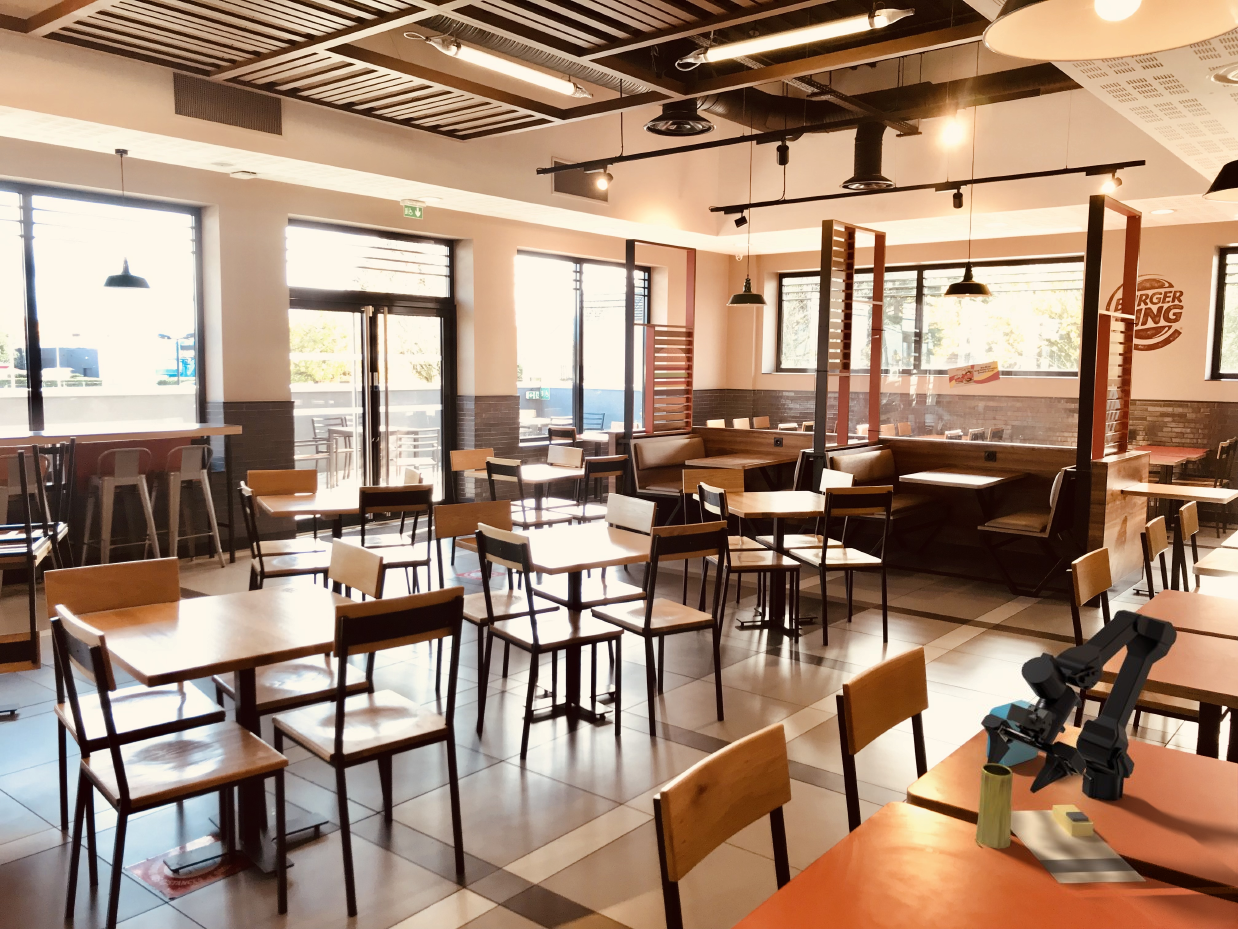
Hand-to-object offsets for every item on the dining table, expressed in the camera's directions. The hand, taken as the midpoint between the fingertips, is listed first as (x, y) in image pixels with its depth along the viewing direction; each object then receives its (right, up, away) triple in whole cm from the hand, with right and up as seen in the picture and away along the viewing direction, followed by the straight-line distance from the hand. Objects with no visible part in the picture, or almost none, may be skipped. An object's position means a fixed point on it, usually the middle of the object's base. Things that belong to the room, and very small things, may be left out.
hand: (1009, 781), depth 170 cm
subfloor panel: (+9, -11, -2) cm, 15 cm away
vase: (-3, -11, 0) cm, 12 cm away
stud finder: (+14, -10, +4) cm, 17 cm away
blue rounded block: (+15, -7, +34) cm, 38 cm away
